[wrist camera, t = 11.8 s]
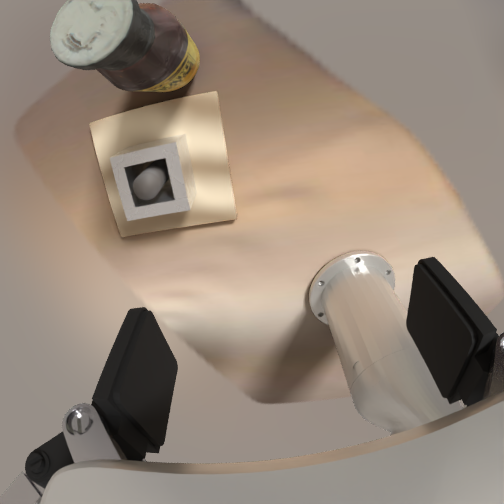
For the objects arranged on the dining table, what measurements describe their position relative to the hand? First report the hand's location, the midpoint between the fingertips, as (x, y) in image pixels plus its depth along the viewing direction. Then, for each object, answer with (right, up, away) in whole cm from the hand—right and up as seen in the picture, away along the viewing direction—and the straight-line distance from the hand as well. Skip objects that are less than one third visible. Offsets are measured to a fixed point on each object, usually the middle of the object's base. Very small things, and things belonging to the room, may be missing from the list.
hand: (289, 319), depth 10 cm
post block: (-11, +11, +21) cm, 26 cm away
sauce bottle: (-9, +21, +15) cm, 28 cm away
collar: (-11, +11, +20) cm, 25 cm away
